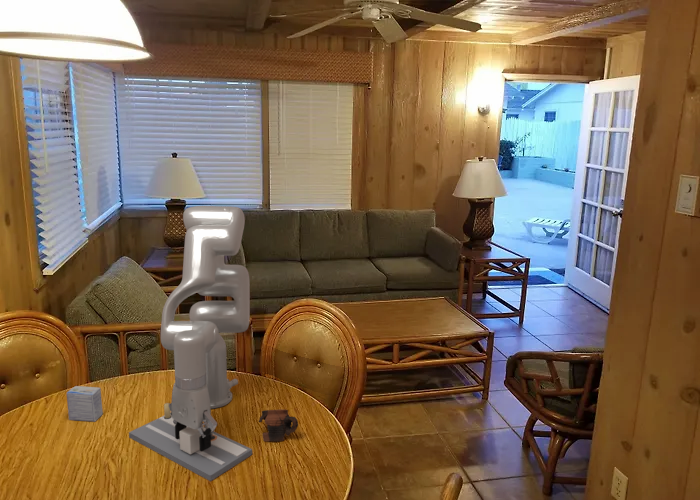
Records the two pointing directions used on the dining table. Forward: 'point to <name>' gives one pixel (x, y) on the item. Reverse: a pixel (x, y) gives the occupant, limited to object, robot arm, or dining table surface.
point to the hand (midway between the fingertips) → (193, 442)
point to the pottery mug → (278, 424)
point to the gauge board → (202, 463)
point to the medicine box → (84, 403)
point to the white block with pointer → (190, 439)
